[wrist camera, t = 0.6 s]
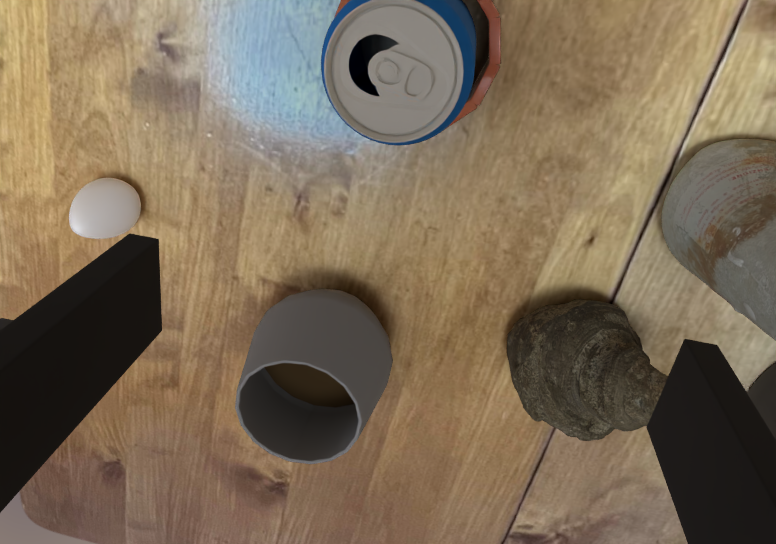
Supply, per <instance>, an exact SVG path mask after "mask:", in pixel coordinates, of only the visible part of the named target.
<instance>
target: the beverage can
mask: <svg viewBox="0 0 776 544" xmlns="http://www.w3.org/2000/svg"><path fill="white" fill-rule="evenodd" d="M475 57H476V30H475V25H474V21H473V18H472V16H471V14H470V11H469V10H468V8H467V6H466V5H465V3H464V2H463V1H462V0H350V1H349V2H348V3H347V4H346V5H345V6H344V7H343V8H342V9H341V10H340V11H339V13H338V14H337V15H336V17H335V18H334V20H333V21H332V23H331V25H330V27H329V29H328V32H327V34H326V37H325V40H324V44H323V48H322V57H321V71H322V78H323V83H324V87H325V91H326V93H327V96H328V98H329V101H330V102H331V104H332V106H333V108H334V109H335V111H336V112H337V114H338V115H339V116H340V118H341V119H342V120H343V121H344V122H345V123H346V124H347V125H348V126H349V127H351V128H352V129H353V130H354V131H356V132H357V133H359V134H360V135H362V136H364V137H366V138H368V139H370V140H373V141H376V142H379V143H383V144H388V145H409V144H414V143H419V142H422V141H425V140H427V139H429V138H431V137H433V136H435V135H437V134H438V133H440V132H441V131H443V130H444V129H445V128H447V127H448V126H449V125H450V124H451V123H452V122H453V121H454V120H455V119H456V117H457V116H458V115H459V113H460V112H461V110H462V109H463V107H464V105H465V104H466V102H467V100H468V97H469V94H470V92H471V89H472V84H473V80H474V71H475Z"/></svg>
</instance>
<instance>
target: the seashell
mask: <svg viewBox="0 0 776 544" xmlns="http://www.w3.org/2000/svg"><path fill="white" fill-rule="evenodd" d="M507 356H508V360H509V365H510V371H511V377H512V382H513V384H514V387H515V389H516V390H517V392H518V395H519V397H520V400H521V402H522V404H523V408H524V409H525V410H526V412H527V413H528V414H529V415H530V416H531V418H532V419H534V420H535V421H541V420H543V421H545V422H547V423H548V424H549V425H551V426H553V427H555V428H557V429H559V430H561V431H563V433H564V434H566V435H567V436H570V437H577V438H578V439H579V440H583V441H591V440H599V439H602V438H604V437H605V436H606V435H608V434H610V433H611V432H612V431H613V430H614V429H618V430H622V431H633V430H636V429H639V428H641V427H643V426H647V425H648V422H649V420H650V418H651V416H652V413H653V411H654V409H655V406H656V404H657V402H658V399H659V397H660V395H661V392H662V390H663V388H664V385H665V383H666V381H667V379H668V376H666V375H665V374H663V373H661V372H659V371H658V370H657V369H656V368H654V367H653V366H652V365H651V364H650V359H649V357H648V356H647V355H646V354H645V353H644V351H643V350H642V345H641V341H640V338H639V337H638V335H637V334H636V332H635V331H633V330H632V327H631V326H630V324H629V322H628V319H627V317H626V315H625V312H624V311H623V310H621V309H620V308H618V307H616V306H614V305H612V304H608V303H605V302H600V301H592V300H590V301H587V300H580V299H579V300H573V301H572V302H570V303H567V304H560V305H547V306H545V307H543V308H540V309H537V310H536V311H534V312H533V313H531V314H529V315H527V316H526V317H524V318H521V319H519V320H518V321H517V322H516V323H515V324H514V326H513V328H512V330H511V331H510V332H509V333H508V338H507ZM454 431H455V430H454Z"/></svg>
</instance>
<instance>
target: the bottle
mask: <svg viewBox="0 0 776 544" xmlns="http://www.w3.org/2000/svg"><path fill="white" fill-rule="evenodd" d="M661 219H662V230H663V234H664V237H665V241H666V243H667V246H668V247H669V249H670V251H671V253H672V254H673V255H674V256H675V258H676V259H677V260H678V261H679V262H680V263H681V264H682V265H683V266H684V267H685V268H686V269H687V270H689V271H690V272H692V273H693V274H694V275H695V276H697V277H698V278H699V279H700V280H702V281H703V282H704V283H706V284H707V285H708V286H709V287H710V288H711V289H712V290H714V291H715V292H716V293H717V294H719V295H720V296H721V297H723V298H724V299H725V300H726V301H727V302H729V303H730V304H731V305H732V306H733V307H734V309H735V311H737V312H739V313H741V314H743V315H745V316H746V317H747V318H748V319H750V320H751V321H752V322H753V323H754V324H756V325H757V326H758V327H759V328H760V329H762V330H763V331H764V332H765V333H767V334H768V335H769V336H771V337H772V338H773V339H774V340H776V142H775V141H770V140H760V139H733V140H725V141H720V142H716V143H713V144H711V145H709V146H707V147H704V148H702V149H701V150H700V151H699V152H698V153H696V154H695V155H694V156H693V157H692V158H691V159H690V160H689V161H688V162H687V163H686V164H685V166H684V167H683V168H682V169H681V170H680V172H679V173H678V175H677V176H676V178H675V179H674V181H673V182H672V184H671V186H670V188H669V190H668V193H667V195H666V198H665V201H664V205H663V209H662V217H661Z"/></svg>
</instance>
